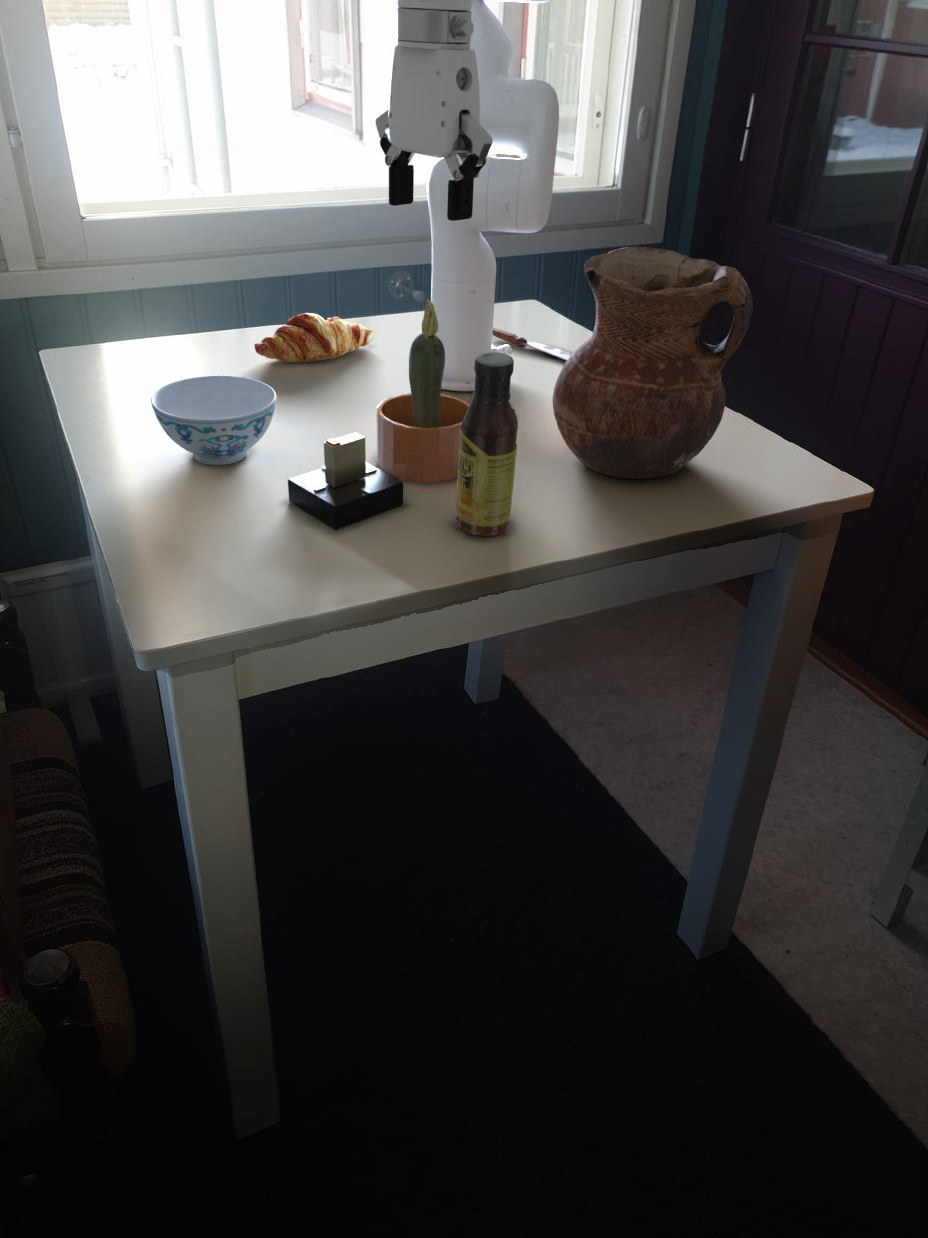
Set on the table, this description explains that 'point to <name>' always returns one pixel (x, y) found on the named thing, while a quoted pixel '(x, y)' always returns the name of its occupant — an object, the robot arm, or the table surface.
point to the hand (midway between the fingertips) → (429, 211)
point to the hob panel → (346, 496)
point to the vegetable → (427, 372)
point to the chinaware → (215, 415)
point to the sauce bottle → (487, 449)
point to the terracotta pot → (419, 440)
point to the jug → (649, 362)
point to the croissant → (313, 339)
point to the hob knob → (344, 459)
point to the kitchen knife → (530, 344)
